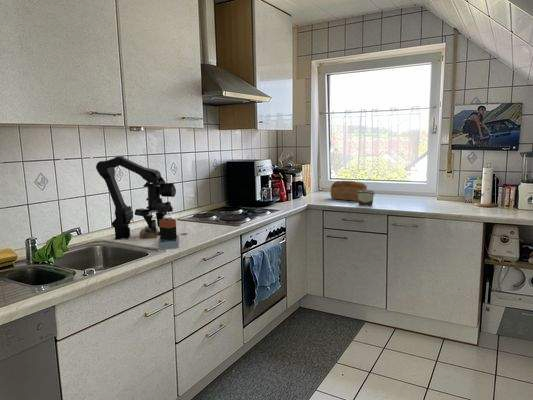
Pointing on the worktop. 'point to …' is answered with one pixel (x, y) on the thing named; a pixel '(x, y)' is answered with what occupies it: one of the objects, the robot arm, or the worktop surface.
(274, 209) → the worktop surface
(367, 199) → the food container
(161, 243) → the tray
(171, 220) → the battery
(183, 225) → the worktop surface
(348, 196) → the bread
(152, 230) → the crank
